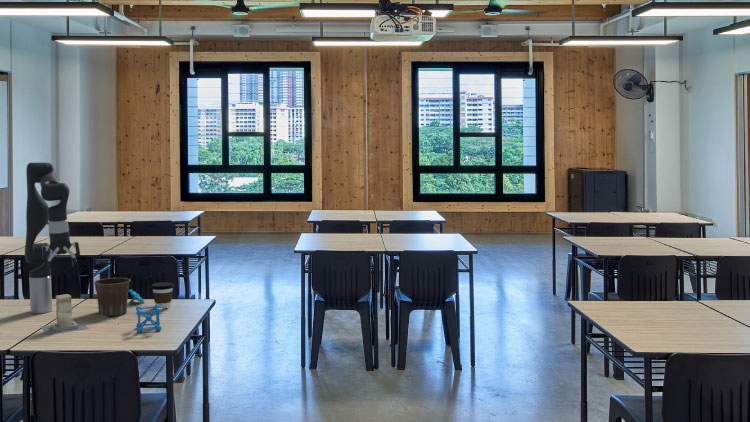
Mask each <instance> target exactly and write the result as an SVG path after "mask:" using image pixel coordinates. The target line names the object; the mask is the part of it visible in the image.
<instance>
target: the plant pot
mask: <svg viewBox="0 0 750 422" xmlns="http://www.w3.org/2000/svg"><path fill="white" fill-rule="evenodd" d="M130 282H131V279H130V278H126V277H109V278H101V279H97V280H95V281H93V285H94V288H95V289H94V290H95V291H96V297H97V305H98V308H97V309H98V314H99V315H102V316H105V317H111V316H113V317H119V316H123V315H126V314H127V312H128V297H129V289H130Z"/></svg>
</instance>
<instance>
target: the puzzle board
mask: <svg viewBox="0 0 750 422" xmlns="http://www.w3.org/2000/svg"><path fill="white" fill-rule="evenodd" d="M40 329H42V331H43V332H44V333H46V335H48V336H52V335H59V334H65V333H70V332H77V331H85V330H89V329H90V328H89V327H88V326H87V325H85V324H84V323H83V322H82V321H80V320H78V321H77V320H75V321H74V320H72V325H70V326H64V327H57V322H54V323H50V325H42V326H40Z"/></svg>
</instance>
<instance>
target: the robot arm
mask: <svg viewBox="0 0 750 422" xmlns="http://www.w3.org/2000/svg"><path fill="white" fill-rule="evenodd" d="M36 184H39V185H40V187H41V189H40V192H39V191H38V189H37V187H36ZM26 189H27V190H26V195H27V196H26V212H25V213H26V214H25V215H26V216H25V217H26V220H25V221H26V233H25V234H26V236H25V245H24V258H25V259H24V260H25V262H26V263H28V264H39V263H41V265H39V266H38V267H35V268H34V269H31V270H29V273H28V276H29V279H28V280H29V301H30V302H29V304H30V305H29V306H30V313H31V314H45V313H50V312H52V311H53V296H52V295H53V294H52V290H53V289H52V274H51V273H52V270H53V260H52V259H54V257H55V256H56V255H57V256H59V255H66V254H68V255H69V256H71V265H72V267H73V268H74V267H75V266H77V257H80V256H81V250H80V244H79V242H78V241H74V242H71V240H70V239H71V238H70V237H71V236H70V227H69V222H68V215H67V214H68V213H67V207H68V200H69V196H70V187H69V186H68V184H66V183H65V182H64V183H63V182H62V183H61V182H60V181H59V179H58V177H57V172H56V169H55V167H54V165H53V164H52V163H50V162H29V163H27V166H26ZM53 201H59V202H58V203H57V204H55V205H52V206H49V205H48V203H47V202H53ZM46 226H48V236H49V242H40V243H35V242H36V238H37V237H38V235H39V234H40V233H41V232H42V231H43V230H44V229H45V228H46ZM71 247H73V248H74V249H75V253H73V252H72V251H71V250H70V249H71Z"/></svg>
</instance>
